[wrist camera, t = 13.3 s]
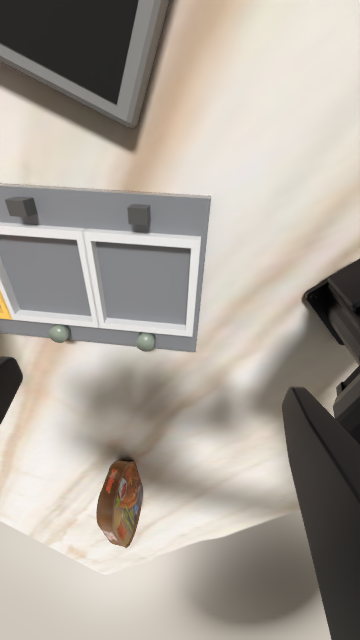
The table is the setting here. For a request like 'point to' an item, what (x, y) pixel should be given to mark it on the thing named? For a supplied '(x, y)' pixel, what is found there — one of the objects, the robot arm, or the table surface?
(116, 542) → the tin
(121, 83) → the electronic device
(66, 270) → the breaker panel
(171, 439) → the table surface
